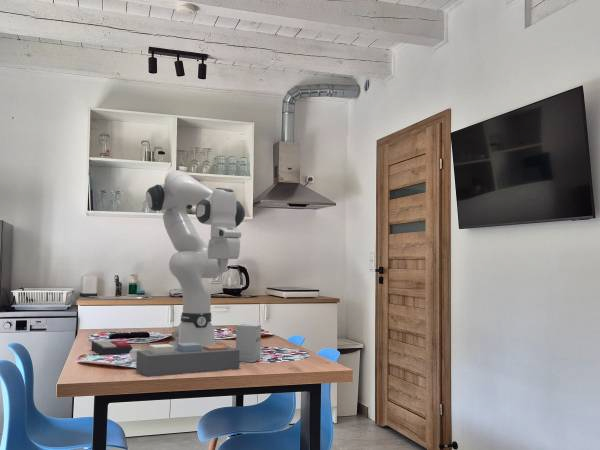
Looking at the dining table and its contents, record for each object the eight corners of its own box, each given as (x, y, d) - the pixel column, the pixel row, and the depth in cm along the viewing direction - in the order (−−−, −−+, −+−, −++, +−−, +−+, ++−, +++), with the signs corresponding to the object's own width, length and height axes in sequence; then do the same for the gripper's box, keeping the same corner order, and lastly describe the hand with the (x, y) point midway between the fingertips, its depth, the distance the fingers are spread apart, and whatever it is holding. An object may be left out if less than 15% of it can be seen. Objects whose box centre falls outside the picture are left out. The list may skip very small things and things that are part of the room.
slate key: (176, 356, 182) (177, 343, 182) (194, 355, 185) (194, 342, 185) (182, 359, 177) (183, 345, 177) (200, 358, 180) (201, 344, 180)
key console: (136, 370, 178) (136, 350, 179) (224, 363, 194) (224, 345, 194) (147, 376, 168) (147, 356, 168) (238, 368, 183) (239, 350, 184)
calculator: (102, 346, 206) (91, 339, 218) (102, 358, 206) (91, 350, 218) (132, 344, 212) (120, 337, 224) (132, 356, 212) (119, 348, 224)
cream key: (148, 358, 177) (149, 345, 178) (167, 357, 181) (167, 343, 181) (154, 361, 172) (154, 347, 173) (173, 360, 175) (174, 346, 176)
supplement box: (255, 362, 196) (255, 325, 197) (234, 361, 198) (235, 325, 199) (260, 359, 203) (261, 323, 204) (241, 358, 205) (241, 323, 206)
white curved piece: (153, 362, 196) (153, 350, 196) (131, 364, 190) (132, 352, 190) (141, 358, 202) (141, 347, 202) (119, 361, 197) (120, 349, 197)
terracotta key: (202, 359, 187) (203, 346, 187) (219, 358, 190) (220, 345, 190) (209, 361, 181) (210, 348, 182) (226, 360, 185) (227, 347, 185)
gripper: (203, 233, 208) (202, 271, 207) (226, 231, 190) (225, 272, 189) (219, 234, 211) (218, 271, 210) (243, 232, 193) (242, 272, 192)
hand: (222, 272), depth 199 cm, fingers closed
